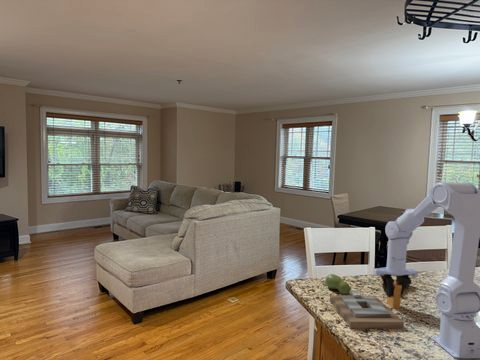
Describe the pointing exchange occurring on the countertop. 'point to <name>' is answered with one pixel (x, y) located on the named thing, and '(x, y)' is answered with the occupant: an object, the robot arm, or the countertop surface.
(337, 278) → the pear
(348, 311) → the brown grey stepped board
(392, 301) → the notched wooden block
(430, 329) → the countertop surface
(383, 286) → the bolt
